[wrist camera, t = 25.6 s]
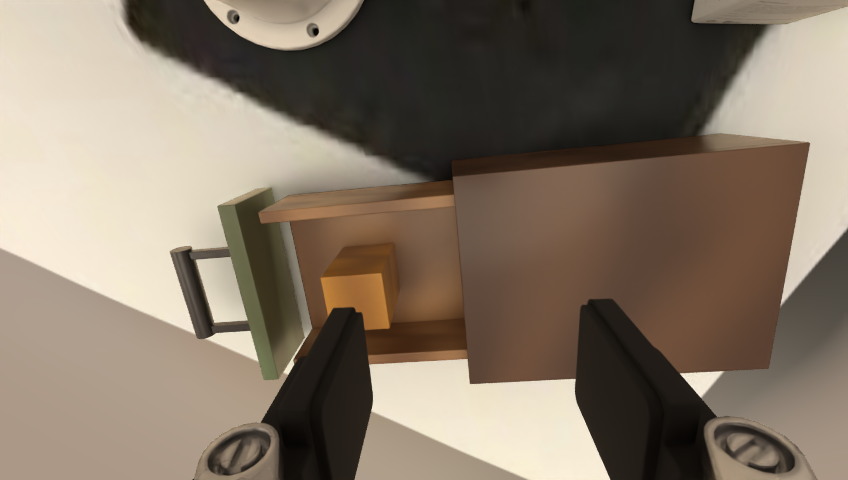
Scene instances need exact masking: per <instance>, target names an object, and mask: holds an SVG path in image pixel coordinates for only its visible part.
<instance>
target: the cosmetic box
mask: <svg viewBox="0 0 848 480" xmlns="http://www.w3.org/2000/svg"><path fill="white" fill-rule="evenodd" d="M847 6H848V0H695V2H694V7H693V12H692V18H691V21H692V22H694V23H720V24H787V23H791V22H794V21H798V20H801V19H805V18H808V17H812V16H815V15H819V14H822V13H826V12H829V11H833V10H837V9H840V8H844V7H847Z"/></svg>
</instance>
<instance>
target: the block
mask: <svg viewBox="0 0 848 480" xmlns="http://www.w3.org/2000/svg"><path fill="white" fill-rule="evenodd" d="M321 282H322V287H323V292H324V297H325V303H326V308H327V313H328V316H329V314H330V313H331V311H332V309H333V308H341V307H354V308H355V310H356V312H362V314H363V320H364V328H365V330H372V329H388V328H390V326H391V322H392V318H393V314H394V310H395V306H396V303H397V299H398V295H399V291H400V286H399V279H398V271H397V264H396V256H395V249H394V243H386V244H374V245H362V246H350V247H343V248H342V250H341V251H340V252H339V254H338V255H337V256H336V258H335V259H334V260H333V262H332V263H331V264H330V266H329V267H328V269H327V270H326V271H325V273H324V274H323V275H322V277H321Z"/></svg>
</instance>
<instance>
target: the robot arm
mask: <svg viewBox="0 0 848 480" xmlns="http://www.w3.org/2000/svg"><path fill="white" fill-rule="evenodd" d="M204 1H205V2H206V4H207V5H208V7H209V8H210V9H211V11H212V12H213V13H214V14H215V15H216V16H217V17H218V18H219V19H220V20H221V21H222V22H223V23H224V24H225V25H226V26H227V27H229V28H230V29H231V30H233V31H234V32H235V33H237V34H238V35H240V36H241V37H243V38H245V39H248V40H250V41H252V42H254V43H256V44H259V45H262V46H265V47H268V48H272V49H278V50H284V51H290V50H304V49H307V48H311V47H315V46H318V45H320V44H322V43H324V42H326V41H328V40H330V39H332V38H333V37H335V36H336V35H337V34H338V33H339V32H341V31H342V30H343V29H344V28H345V27H346V26H347V25H348V24H349V23H350V21H351V20H352V19H353V18H354V17H355V15H356V14H357V13H358V11H359V9H360V7H361V5H362V3H363V1H364V0H204ZM238 16H239V17H240V19H239V22H237V17H238ZM317 28H318V30H319V34H318V35H317V36H315V35H314V33H313V32H314V30H315V29H317ZM575 396H576V401H577V404H578V406H579V409H580V411H581V413H582V416H583V418H584V420H585V422H586V425H587V427H588V429H589V432H590V434H591V436H592V438H593V441H594V443H595V445H596V448H597V450H598V452H599V455H600V457H601V459H602V461H603V464H604V466H605V468H606V471H607V473H608V475H609V477H610V480H817V478H816V476H815V474H814V472H813V470H812V469H811V467H810V465H809V463H808V461H807V459H806V458H805V456H804V455H803V454H802V452H801V451H800V450H799V448H798V447H797V446H796V445H795V444H793V443H792V442H791V441H790V440H789V439H788V438H786V437H785V436H783V435H782V434H780V433H778V432H777V431H775V430H773V429H772V428H770V427H767V426H765V425H763V424H760V423H758V422H755V421H751V420H748V419H744V418H740V417H730V416H724V417H717V416H716V415H715V414H714V413H713V412H712V411H711V409H710V408H709V407H708V406H707V405H706V404H705V403H704V401H702V399H701V398H700V397H699V396H698V394H697V393H696V392H695V391H694V390H693V389H692V387H691V386H690V385H689V384H688V383H687V382H686V380H685V379H684V378H683V377H682V376H681V375H680V373H679V372H678V371H677V370H676V369H675V368H674V367H673V365H672V364H671V363H670V362H669V361H668V360H667V358H666V357H665V356H664V355H663V354H662V353H661V351H659V350H658V349H657V348H655V347H654V346H653V345H652V344H651V343H650V342H649V341H648V339H647V338H646V337H645V336H644V335H643V334H642V332H641V331H640V330H639V329H638V328H637V326H636V325H635V324H634V323H633V322H632V321H631V319H630V318H629V317H628V316H627V315H626V314H625V312H624V311H623V310H622V309H621V308H620V307H619V305H618V304H617V303H616V302H615V301H614V300H613V299H589V300H588V303H587V305H582V306H581V308H580V319H579V335H578V351H577V366H576V382H575ZM372 404H373V392H372V384H371V376H370V368H369V360H368V352H367V344H366V336H365V328H364V320H363V314H362V312H356V310H355V308H354V307H341V308H333V309H332V311H331V313H330V314H329V316H328V318H327V320H326V322H325V323H324V325H323V327H322V329H321V331H320V332H319V334H318V336H317V338H316V340H315V341H314V343H313V345H312V347H311V349H310V351H309V352H308V354H307V356H301V357H299V358H298V360H297V361H296V363H295V365H294V366H293V368H292V370H291V371H290V373H289V375H288V377H287V378H286V380H285V382H284V383H283V385H282V387H281V389H280V390H279V392H278V394H277V396H276V397H275V399H274V401H273V403H272V404H271V406H270V408H269V409H268V411H267V413H266V414H265V416H264V418H263V420H262V421H261V423H250V424H243V425H241V426H238V427H235V428H232V429H230V430H229V431H227V432H225V433H223V434H221V435H220V436H219V437H218V438H216V439H215V440H214V441H212V442H211V443H210V444H209V446H208V447H207V448H206V449H205V450H204V451H203V453H202V456H201V458H200V460H199V462H198V466H197V470H196V474H195V477H194V479H193V480H354V479H355V475H356V471H357V467H358V463H359V459H360V454H361V450H362V446H363V442H364V438H365V434H366V430H367V426H368V422H369V417H370V413H371V409H372Z"/></svg>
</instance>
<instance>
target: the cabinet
mask: <svg viewBox="0 0 848 480" xmlns="http://www.w3.org/2000/svg"><path fill="white" fill-rule="evenodd" d="M809 146H810V143H809V142H800V141H790V140H781V139H771V138H761V137H751V136H741V135H731V134H712V135H702V136H692V137H682V138H672V139H662V140H652V141H641V142H631V143H621V144H611V145H601V146H591V147H581V148H571V149H560V150H550V151H540V152H530V153H520V154H510V155H500V156H490V157H480V158H469V159H459V160H452V175H453V187H454V199H455V211H456V223H457V235H458V247H459V259H460V271H461V283H462V295H463V307H464V319H465V331H466V343H467V355H468V367H469V379H470V384H481V383H500V382H520V381H539V380H558V379H576V366H577V351H578V335H579V319H580V308H581V306H582V305H587V303H588V300H589V299H613V300H614V301H615V302H616V303H617V304H618V305H619V307H620V308H621V309H622V310H623V311H624V312H625V314H626V315H627V316H628V317H629V318H630V319H631V321H632V322H633V323H634V324H635V325H636V326H637V328H638V329H639V330H640V331H641V332H642V334H643V335H644V336H645V337H646V338H647V339H648V341H649V342H650V343H651V344H652V345H653V346H654V347H655V348H657V349H658V350H659V351H661V353H662V354H663V355H664V356H665V357H666V358H667V360H668V361H669V362H670V363H671V364H672V365H673V367H674V368H675V369H676V370H677V371H678V372H679V373H694V372H714V371H733V370H752V369H768V368H769V364H770V359H771V353H772V348H773V343H774V337H775V332H776V326H777V320H778V315H779V310H780V304H781V299H782V293H783V288H784V282H785V277H786V272H787V266H788V261H789V255H790V250H791V244H792V239H793V233H794V228H795V222H796V217H797V211H798V206H799V200H800V195H801V190H802V184H803V179H804V173H805V168H806V162H807V157H808V151H809Z"/></svg>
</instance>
